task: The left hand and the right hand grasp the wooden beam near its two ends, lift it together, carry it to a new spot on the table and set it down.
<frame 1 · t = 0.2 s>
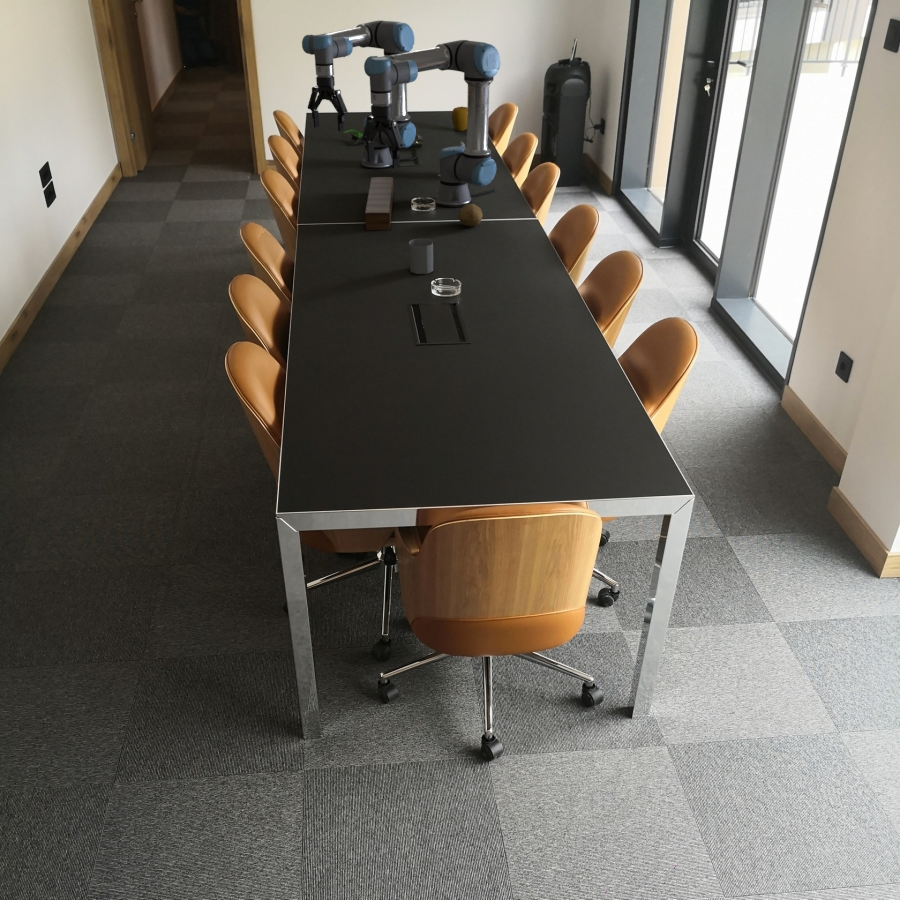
left hand: (328, 129, 372), 28 cm above the table, tool pointing down, fingers open, 13 cm apart
right hand: (383, 164, 325), 27 cm above the table, tool pointing down, fingers open, 13 cm apart
cup: (421, 270, 308), on the table
wooden beam: (380, 210, 367), on the table
yellow piece: (461, 130, 491), on the table
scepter: (370, 142, 467), on the table
toy: (455, 178, 408), on the table
potato: (470, 225, 350), on the table
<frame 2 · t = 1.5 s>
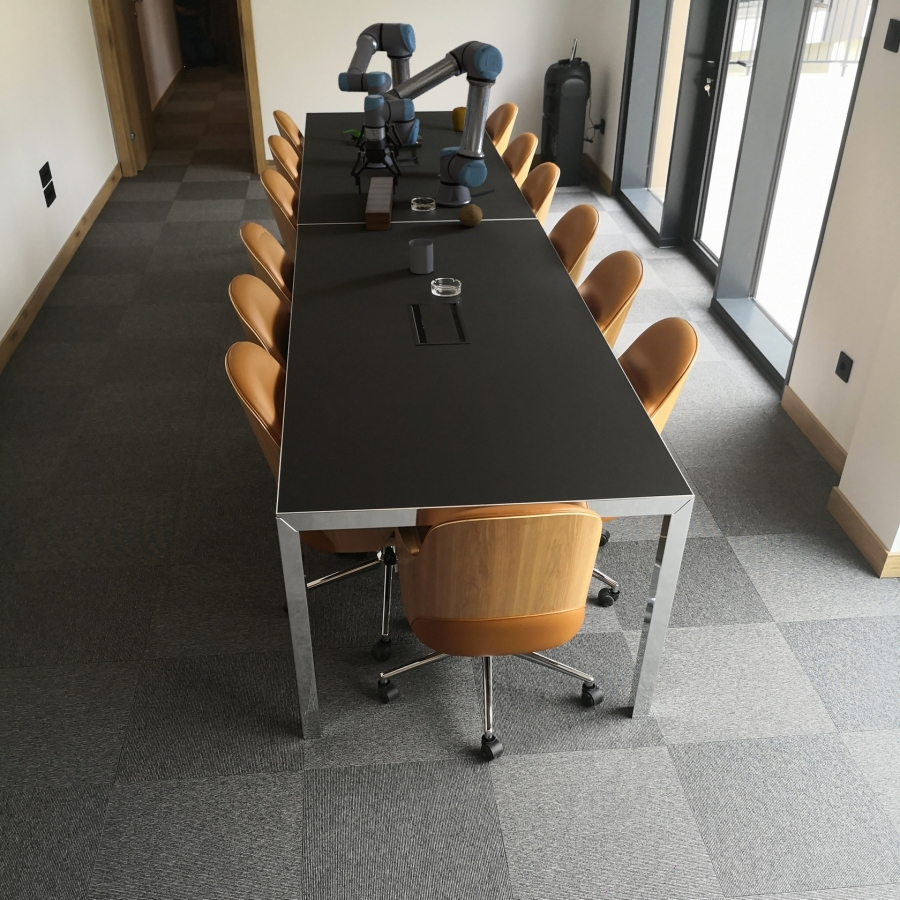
left hand: (379, 164, 374), 15 cm above the table, tool pointing down, fingers open, 13 cm apart
right hand: (377, 193, 345), 12 cm above the table, tool pointing down, fingers open, 13 cm apart
nothing on the table moved.
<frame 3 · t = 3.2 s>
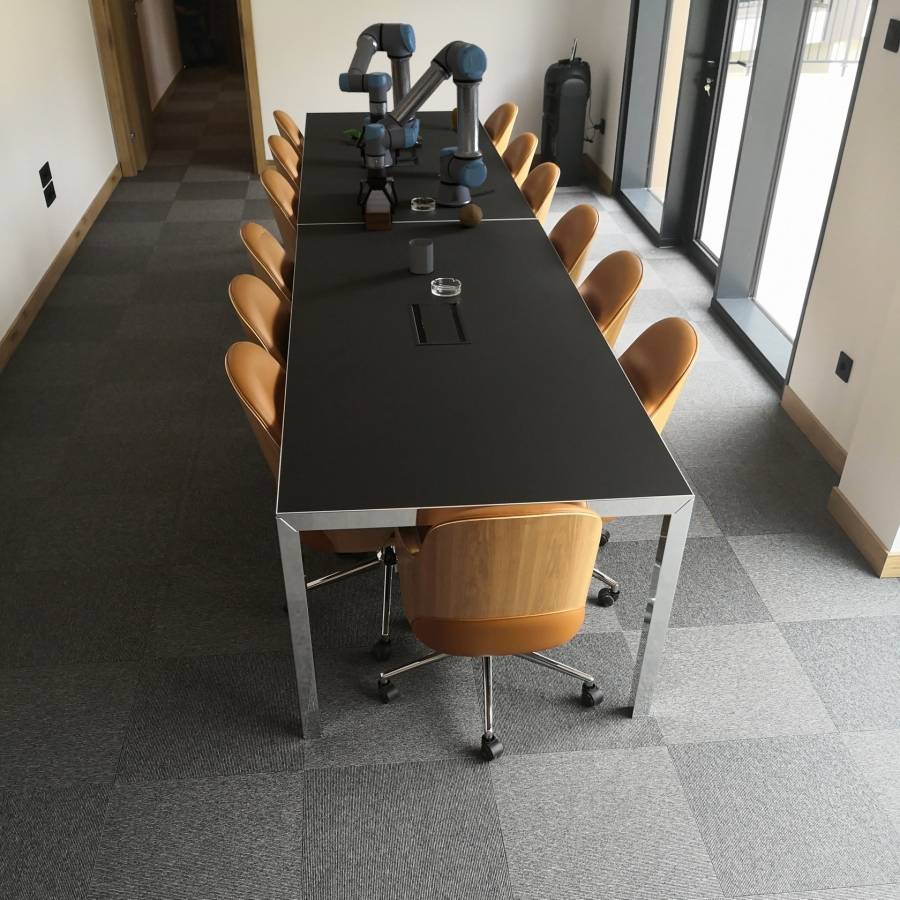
left hand: (380, 164, 374), 14 cm above the table, tool pointing down, fingers open, 13 cm apart
right hand: (378, 222, 352), 1 cm above the table, tool pointing down, fingers closed on wooden beam, 10 cm apart
wooden beam: (380, 210, 367), on the table, touching right hand
everything else where it was.
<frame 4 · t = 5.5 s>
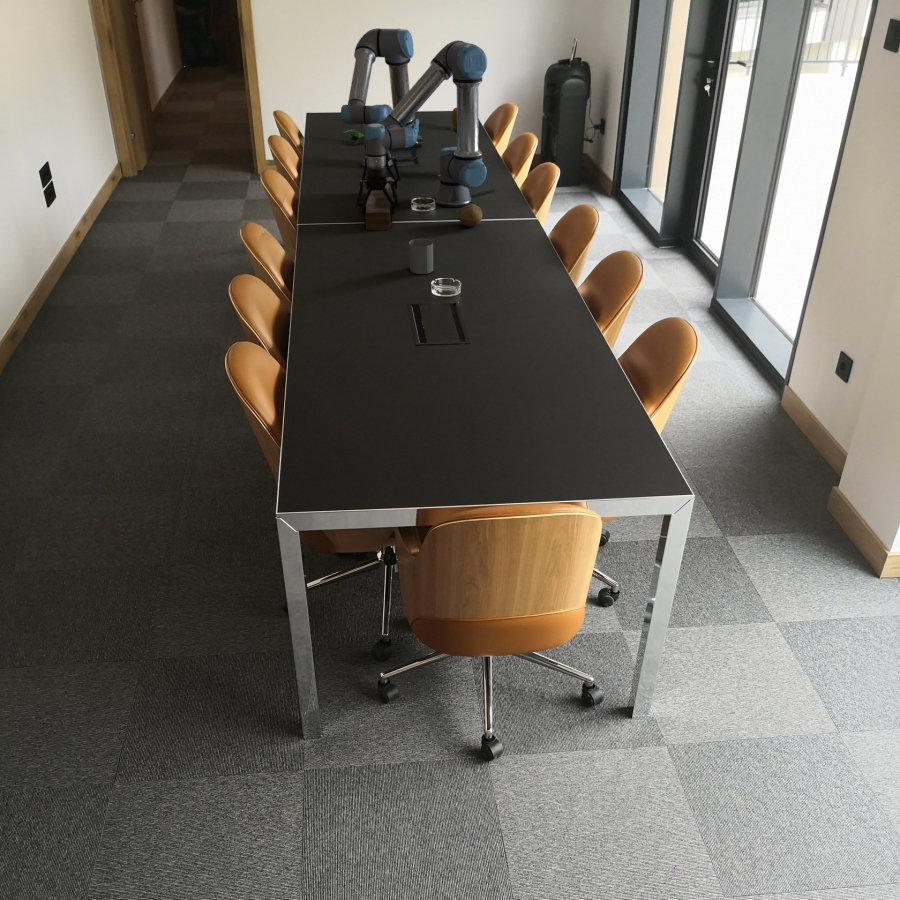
left hand: (382, 196, 382), 1 cm above the table, tool pointing down, fingers closed on wooden beam, 9 cm apart
right hand: (378, 222, 352), 1 cm above the table, tool pointing down, fingers closed on wooden beam, 10 cm apart
wooden beam: (380, 210, 367), on the table, touching left hand, right hand
everything else where it was.
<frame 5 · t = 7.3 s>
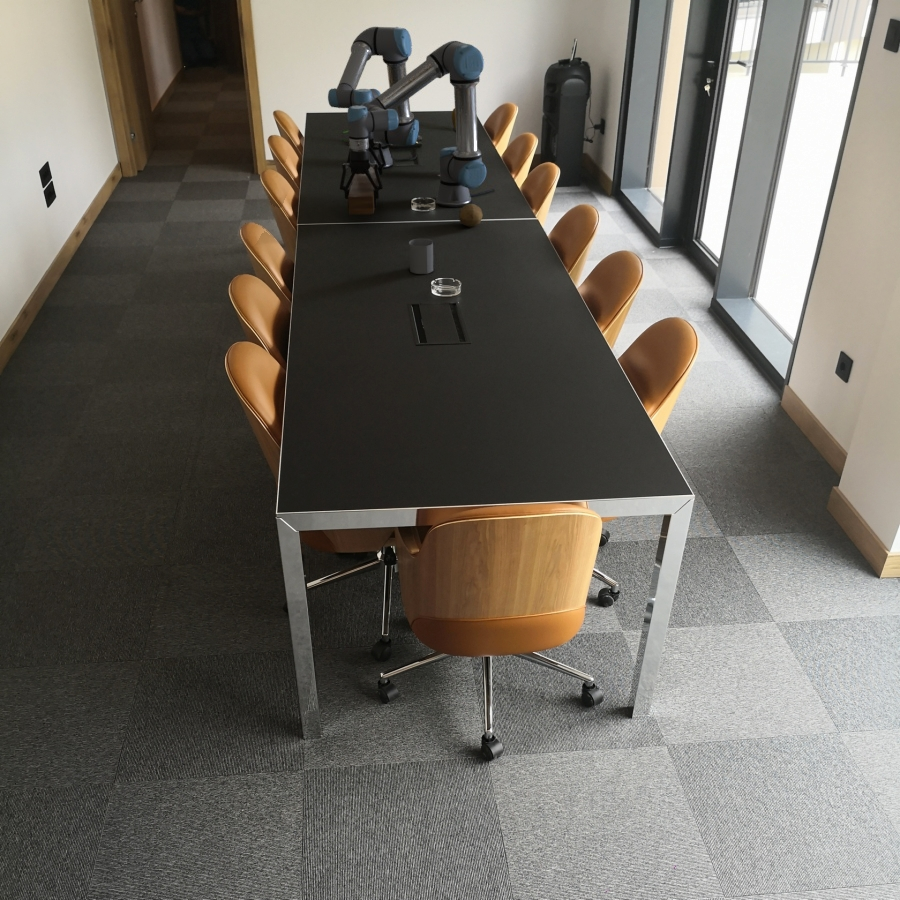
left hand: (367, 182, 376), 7 cm above the table, tool pointing down, fingers closed on wooden beam, 10 cm apart
right hand: (362, 206, 346), 8 cm above the table, tool pointing down, fingers closed on wooden beam, 9 cm apart
wooden beam: (365, 195, 361), point 7 cm above the table, touching left hand, right hand
everything else where it was.
when the left hand's fingers open (1 cm above the table, at t = 9.1 s): wooden beam stays where it is, on the table.
when the right hand's fingers open (2 cm above the table, at t = 9.1 s): wooden beam stays where it is, on the table.
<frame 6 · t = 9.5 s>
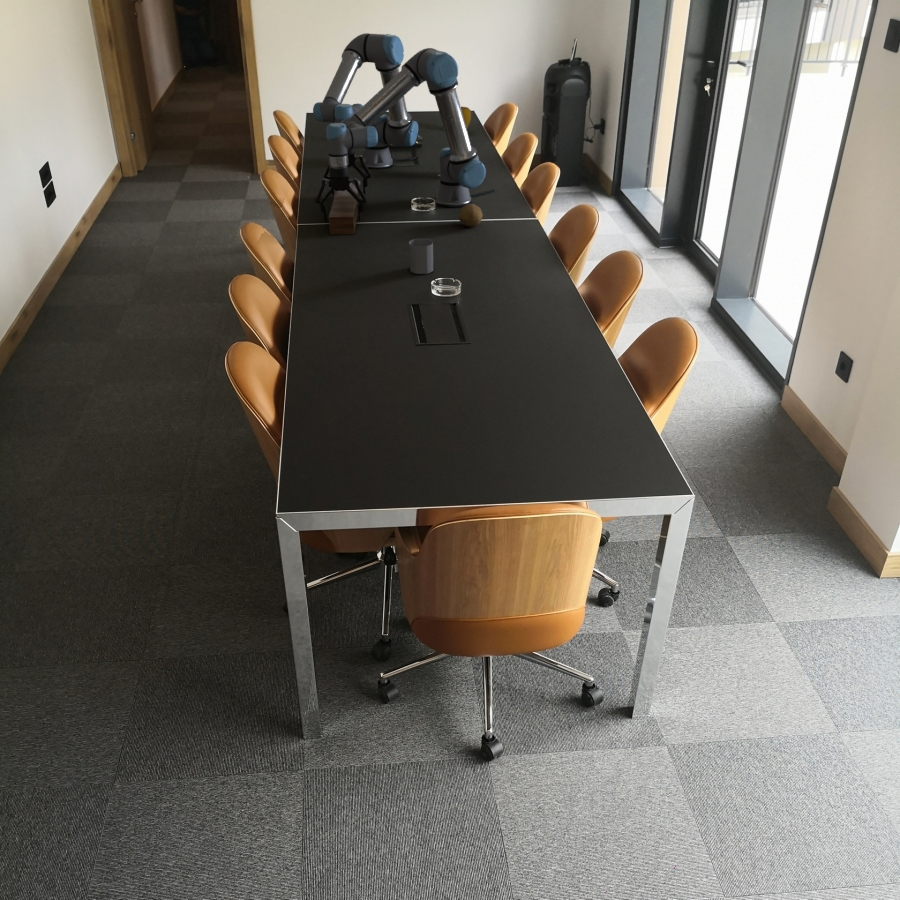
left hand: (348, 194, 375), 3 cm above the table, tool pointing down, fingers open, 13 cm apart
right hand: (342, 220, 345), 3 cm above the table, tool pointing down, fingers open, 13 cm apart
wooden beam: (346, 214, 362), on the table
everything else where it was.
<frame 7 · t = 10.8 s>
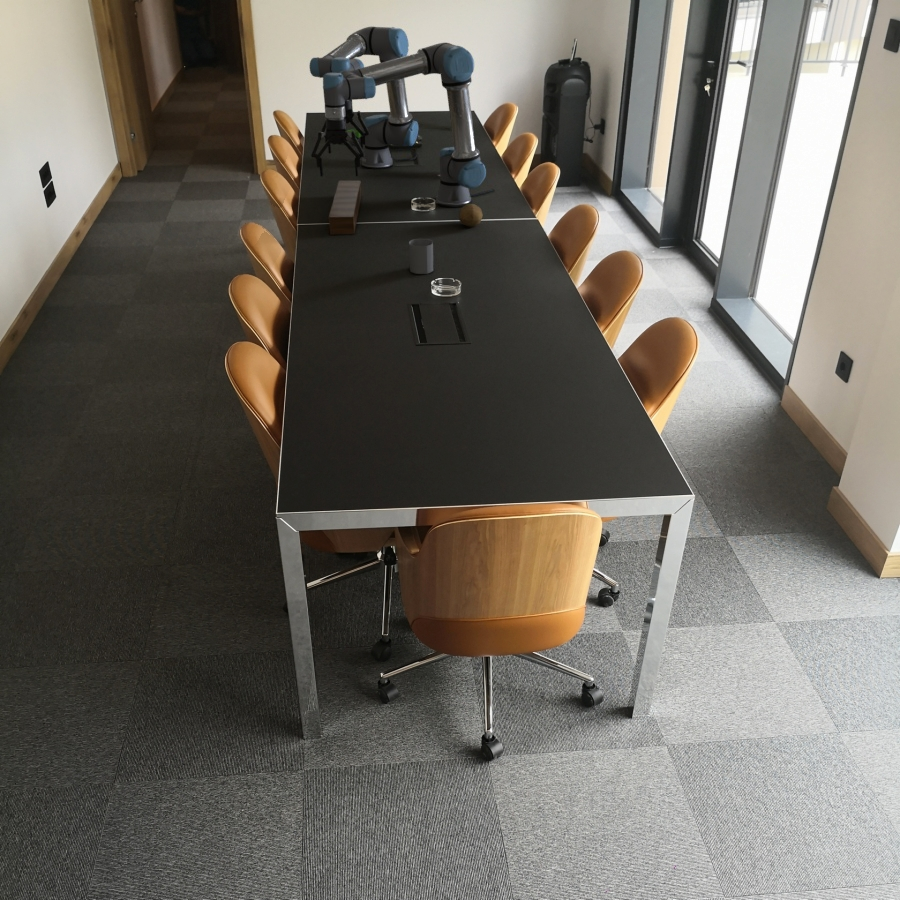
left hand: (346, 152, 366), 21 cm above the table, tool pointing down, fingers open, 13 cm apart
right hand: (339, 175, 336), 21 cm above the table, tool pointing down, fingers open, 13 cm apart
nothing on the table moved.
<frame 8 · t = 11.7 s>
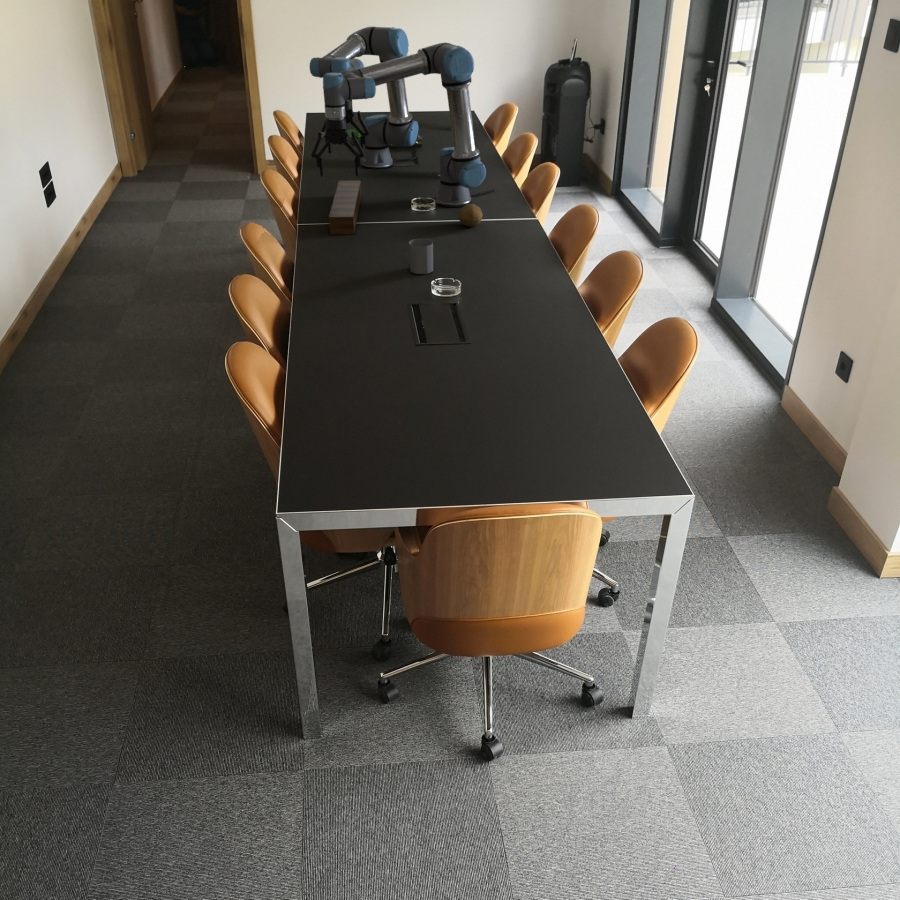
left hand: (346, 152, 366), 21 cm above the table, tool pointing down, fingers open, 13 cm apart
right hand: (339, 175, 336), 21 cm above the table, tool pointing down, fingers open, 13 cm apart
nothing on the table moved.
at the end: wooden beam inside the target area (0.2 cm from its centre), on the table; wooden beam tilted 0°; wooden beam never tilted more than 1° during the clip; both hands held the wooden beam at the same time; the left hand is holding nothing; the right hand is holding nothing; wooden beam at rest at the end (0.0 cm/s) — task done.
